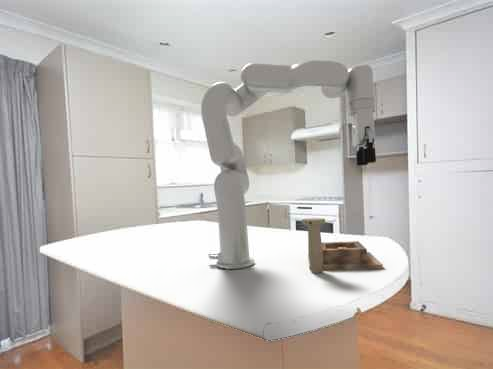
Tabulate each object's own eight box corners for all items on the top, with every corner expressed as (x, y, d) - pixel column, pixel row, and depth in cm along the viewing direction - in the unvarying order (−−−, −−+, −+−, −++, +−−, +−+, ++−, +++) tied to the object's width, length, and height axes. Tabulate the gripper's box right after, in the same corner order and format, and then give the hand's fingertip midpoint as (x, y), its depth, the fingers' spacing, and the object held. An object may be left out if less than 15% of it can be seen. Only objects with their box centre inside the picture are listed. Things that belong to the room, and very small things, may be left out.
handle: (325, 275, 78) (321, 220, 78) (303, 273, 81) (299, 220, 82) (330, 270, 82) (327, 218, 82) (309, 268, 85) (305, 218, 86)
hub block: (309, 270, 84) (308, 251, 84) (308, 256, 100) (307, 241, 100) (382, 269, 80) (381, 249, 80) (369, 255, 96) (368, 238, 96)
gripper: (344, 116, 97) (348, 166, 97) (354, 101, 80) (358, 162, 80) (368, 113, 96) (371, 165, 96) (383, 98, 79) (387, 160, 79)
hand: (366, 163), depth 88 cm, fingers open, 9 cm apart
